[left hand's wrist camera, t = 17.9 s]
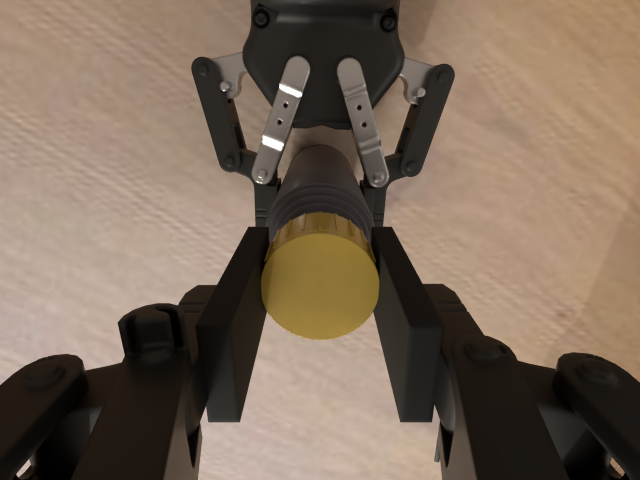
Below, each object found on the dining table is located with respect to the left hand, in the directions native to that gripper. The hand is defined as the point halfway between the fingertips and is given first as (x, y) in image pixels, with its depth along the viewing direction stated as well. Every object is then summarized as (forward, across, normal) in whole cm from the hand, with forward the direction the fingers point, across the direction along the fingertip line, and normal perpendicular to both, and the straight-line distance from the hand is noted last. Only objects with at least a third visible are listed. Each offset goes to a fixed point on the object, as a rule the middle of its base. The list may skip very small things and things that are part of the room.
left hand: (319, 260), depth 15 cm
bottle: (+16, 0, 0) cm, 16 cm away
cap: (-2, 0, 0) cm, 2 cm away
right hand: (+9, 0, -3) cm, 9 cm away
